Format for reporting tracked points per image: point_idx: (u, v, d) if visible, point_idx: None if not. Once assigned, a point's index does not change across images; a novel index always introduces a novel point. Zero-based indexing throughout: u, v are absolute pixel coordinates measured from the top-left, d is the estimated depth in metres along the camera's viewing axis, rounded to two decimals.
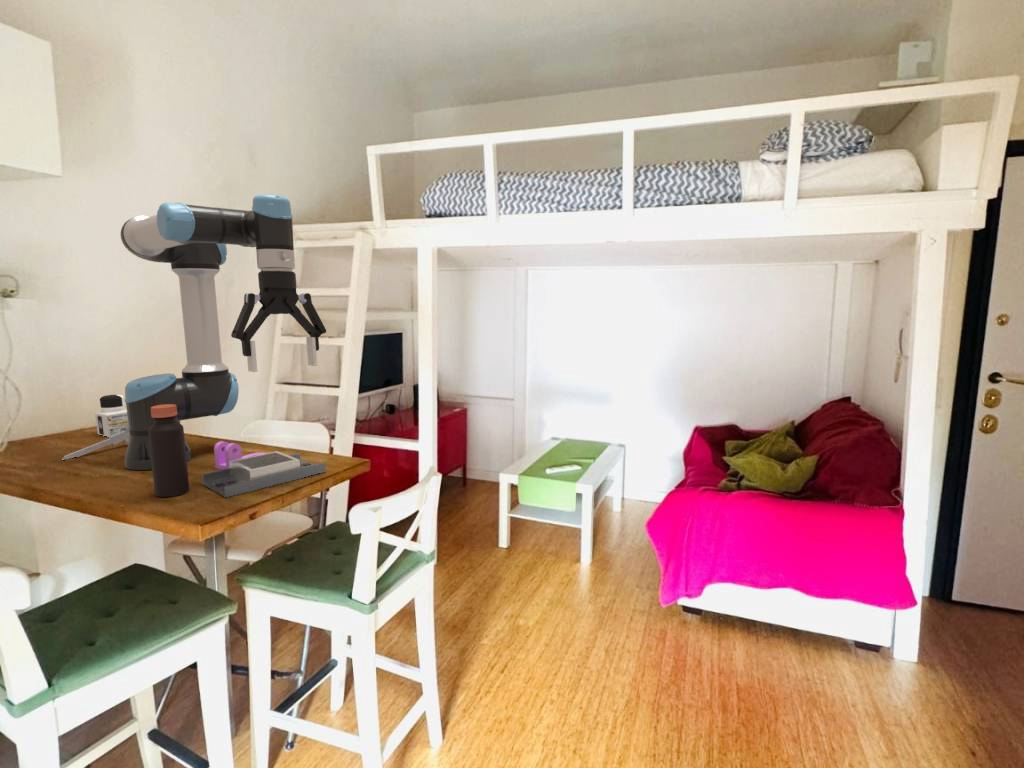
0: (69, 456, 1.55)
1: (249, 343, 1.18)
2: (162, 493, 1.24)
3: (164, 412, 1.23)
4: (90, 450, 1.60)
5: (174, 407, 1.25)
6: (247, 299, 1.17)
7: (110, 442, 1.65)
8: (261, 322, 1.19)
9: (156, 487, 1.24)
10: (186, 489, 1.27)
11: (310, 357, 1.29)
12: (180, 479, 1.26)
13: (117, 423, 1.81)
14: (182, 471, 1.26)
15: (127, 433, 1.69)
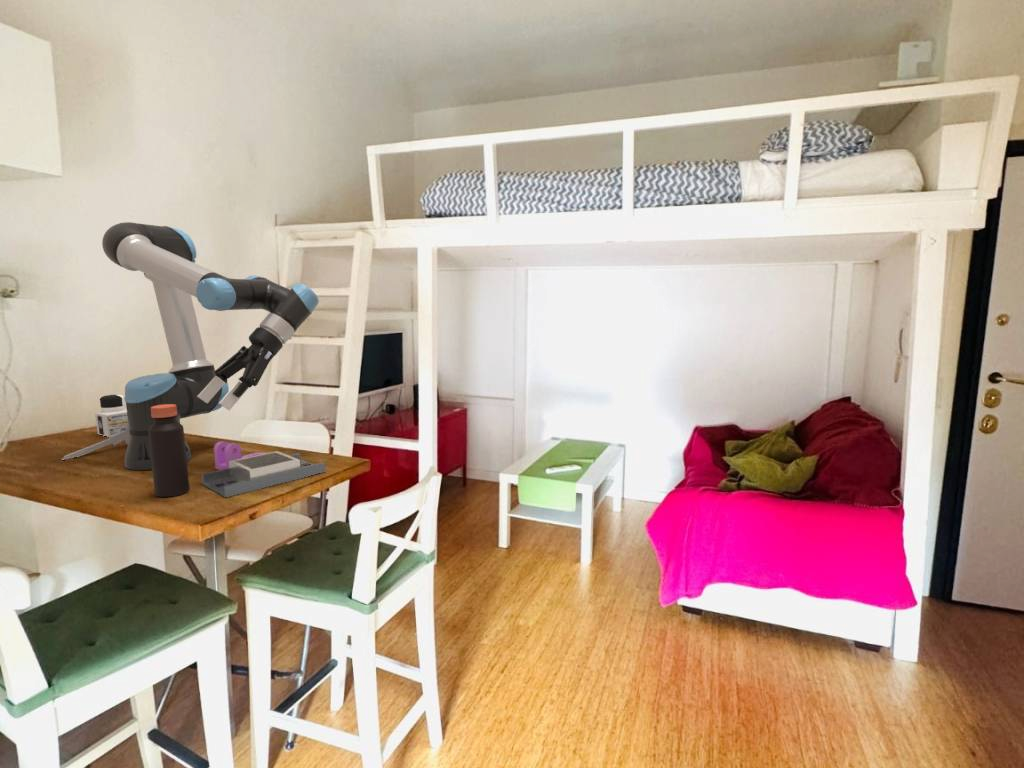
0: (69, 456, 1.55)
1: None
2: (162, 493, 1.24)
3: (164, 412, 1.23)
4: (90, 450, 1.60)
5: (174, 407, 1.25)
6: (268, 357, 1.34)
7: (110, 442, 1.65)
8: None
9: (156, 487, 1.24)
10: (186, 489, 1.27)
11: (208, 394, 1.37)
12: (180, 479, 1.26)
13: (117, 423, 1.81)
14: (182, 471, 1.26)
15: (127, 433, 1.69)
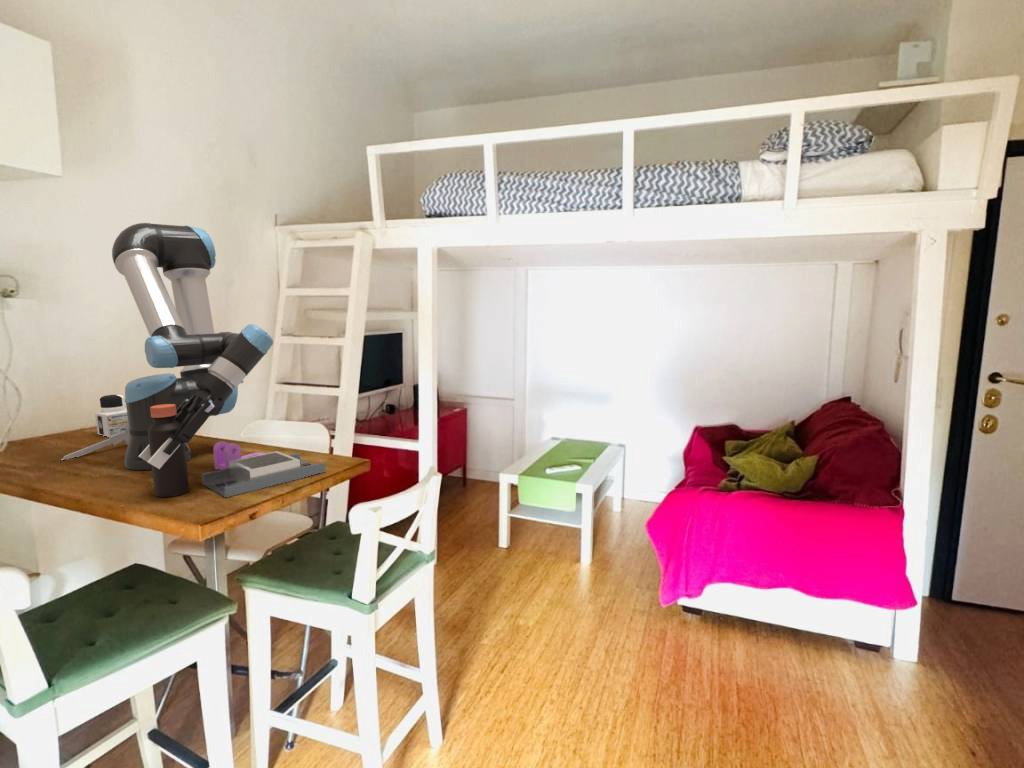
0: (69, 456, 1.55)
1: None
2: (162, 493, 1.24)
3: (163, 412, 1.23)
4: (90, 450, 1.60)
5: (173, 407, 1.25)
6: (210, 410, 1.26)
7: (110, 442, 1.65)
8: None
9: (156, 487, 1.24)
10: (186, 489, 1.27)
11: None
12: (180, 479, 1.26)
13: (117, 423, 1.81)
14: (182, 471, 1.26)
15: (127, 433, 1.69)
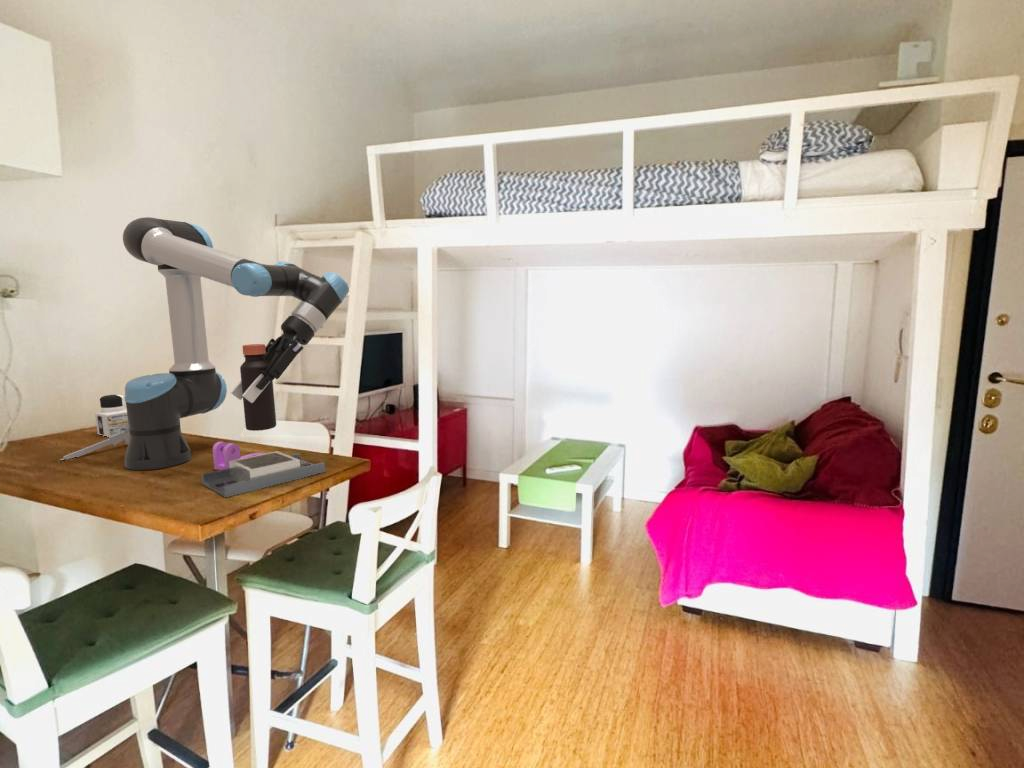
0: (68, 456, 1.55)
1: None
2: (253, 427, 1.32)
3: (255, 350, 1.30)
4: (89, 450, 1.60)
5: (264, 346, 1.32)
6: (297, 349, 1.33)
7: (110, 442, 1.64)
8: None
9: (248, 421, 1.32)
10: (274, 424, 1.35)
11: (241, 390, 1.34)
12: (270, 414, 1.33)
13: (117, 423, 1.81)
14: (271, 407, 1.34)
15: (127, 433, 1.69)
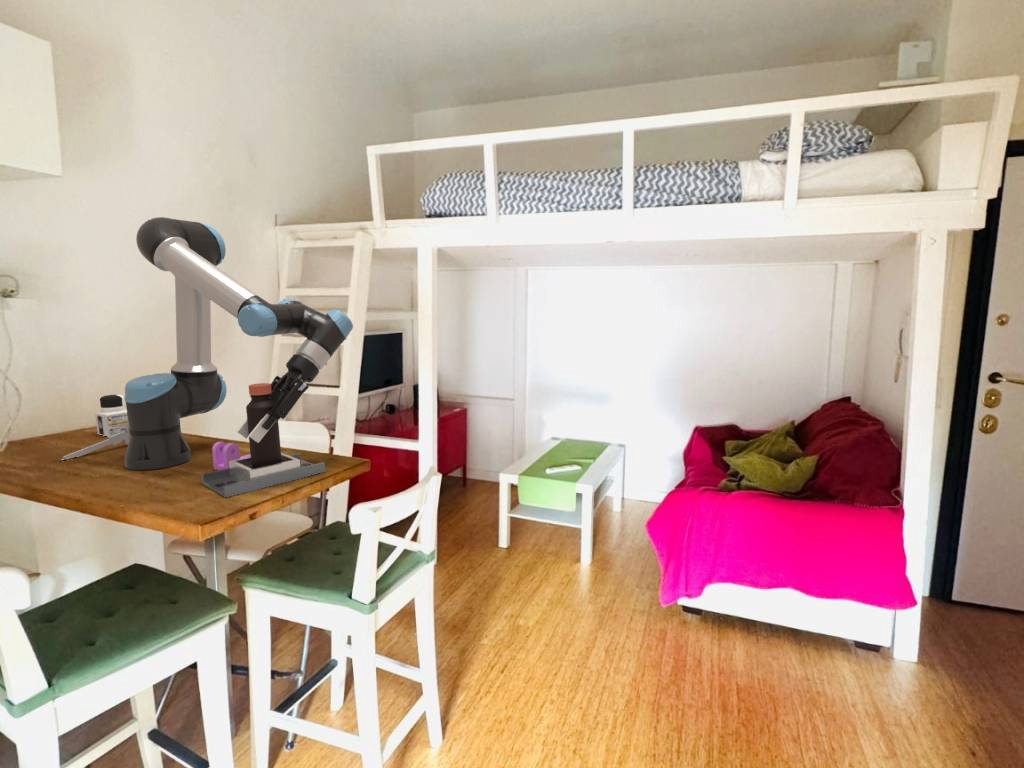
0: (68, 456, 1.55)
1: None
2: (259, 465, 1.34)
3: (261, 390, 1.32)
4: (89, 450, 1.60)
5: (269, 385, 1.34)
6: (302, 389, 1.35)
7: (110, 442, 1.64)
8: None
9: (253, 460, 1.34)
10: (279, 462, 1.37)
11: (247, 429, 1.36)
12: (275, 453, 1.35)
13: (117, 423, 1.81)
14: (277, 446, 1.35)
15: (127, 433, 1.69)
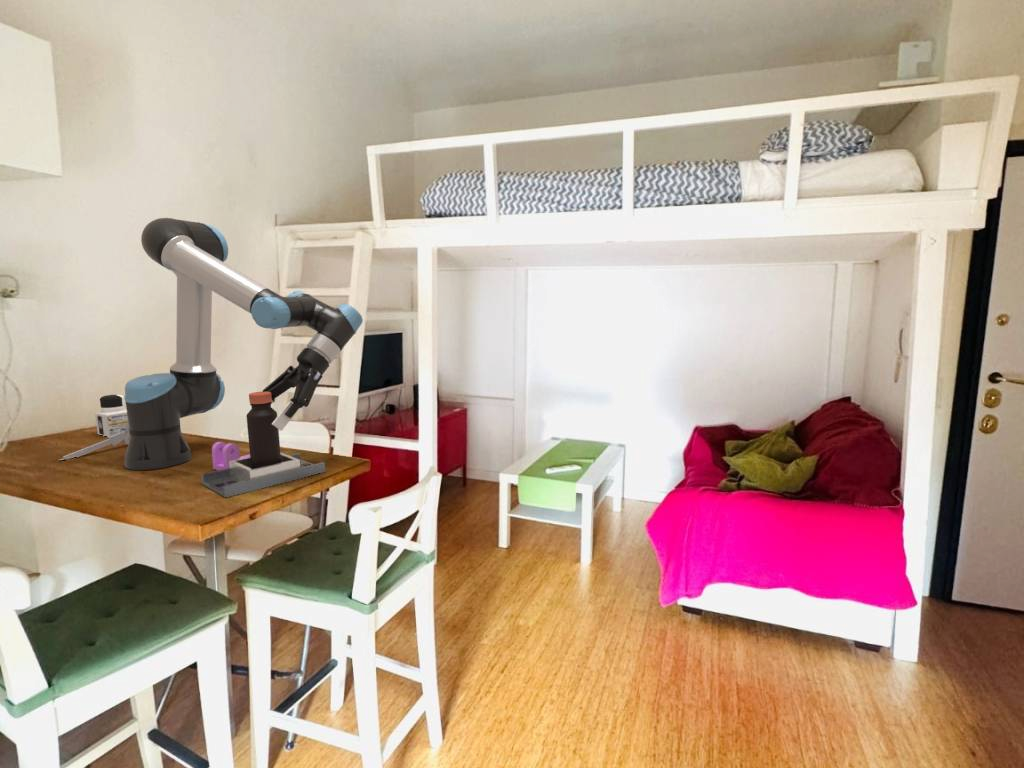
0: (68, 456, 1.55)
1: None
2: None
3: (261, 399, 1.32)
4: (89, 450, 1.60)
5: (270, 394, 1.34)
6: (317, 377, 1.37)
7: (109, 442, 1.64)
8: None
9: (253, 468, 1.34)
10: None
11: None
12: (275, 461, 1.35)
13: (117, 423, 1.81)
14: (277, 454, 1.36)
15: (127, 433, 1.68)
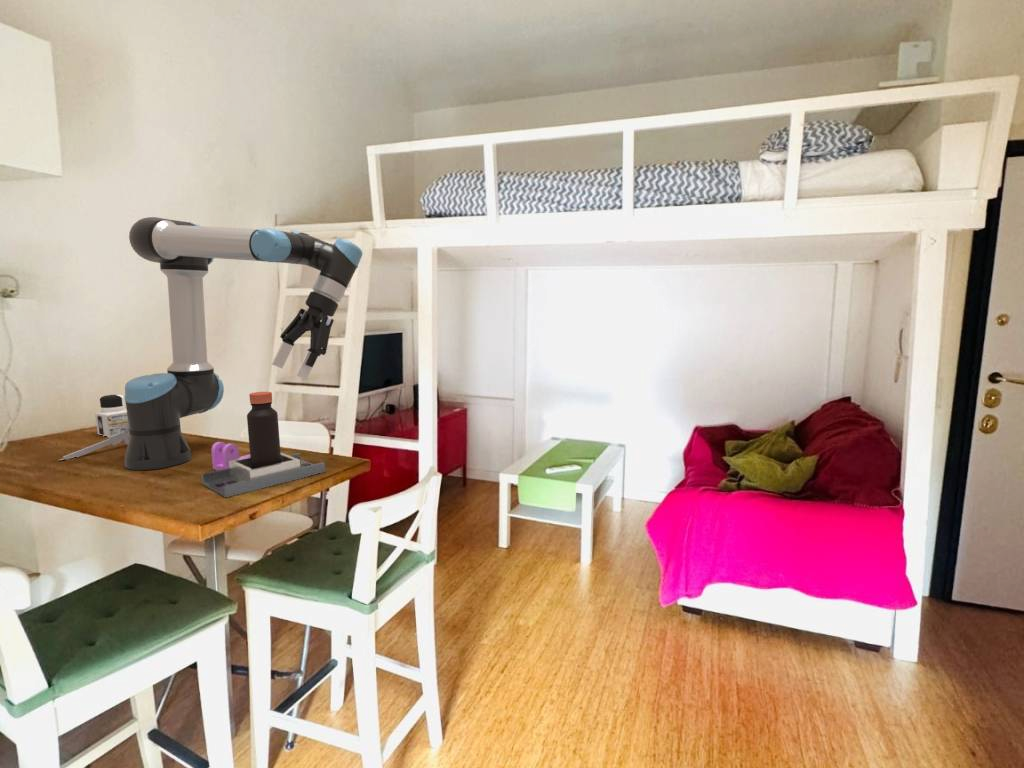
0: (68, 456, 1.55)
1: None
2: None
3: (262, 398, 1.33)
4: (89, 450, 1.60)
5: (270, 394, 1.34)
6: (329, 323, 1.40)
7: (109, 442, 1.64)
8: None
9: (253, 468, 1.34)
10: None
11: (280, 360, 1.47)
12: (275, 461, 1.35)
13: (117, 423, 1.81)
14: (277, 454, 1.36)
15: (126, 433, 1.68)
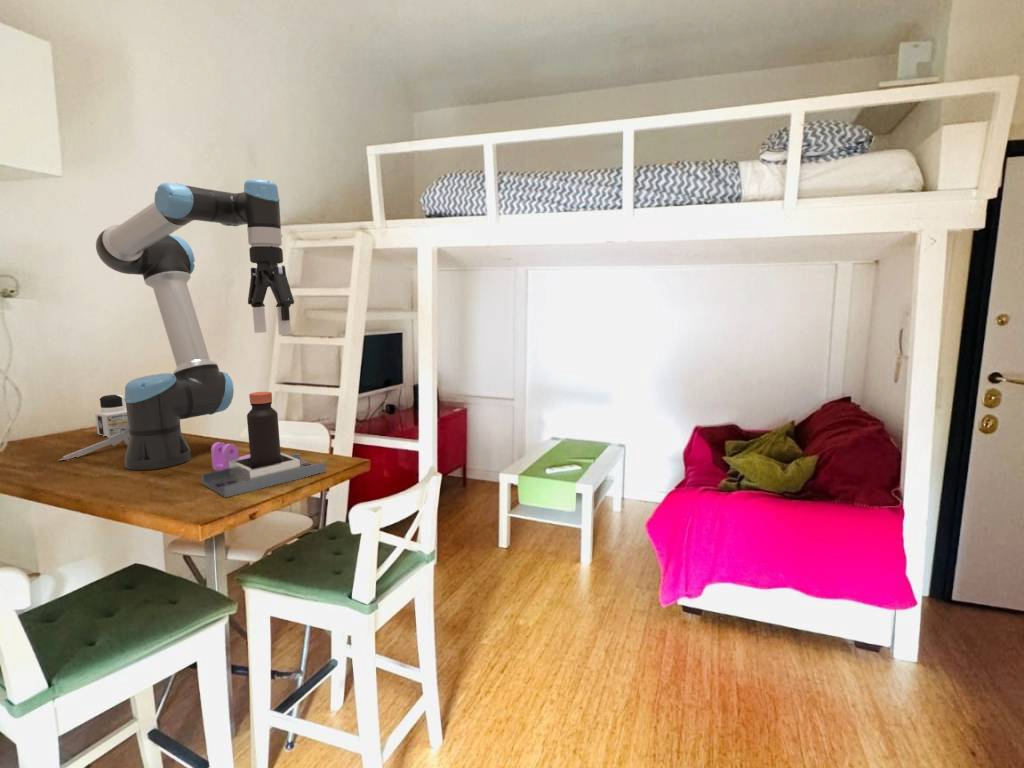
0: (68, 456, 1.55)
1: None
2: None
3: (262, 398, 1.33)
4: (89, 450, 1.60)
5: (270, 394, 1.34)
6: (282, 270, 1.35)
7: (109, 442, 1.64)
8: None
9: (253, 468, 1.34)
10: None
11: (260, 325, 1.45)
12: (275, 461, 1.35)
13: (117, 423, 1.81)
14: (277, 454, 1.36)
15: (127, 433, 1.68)
